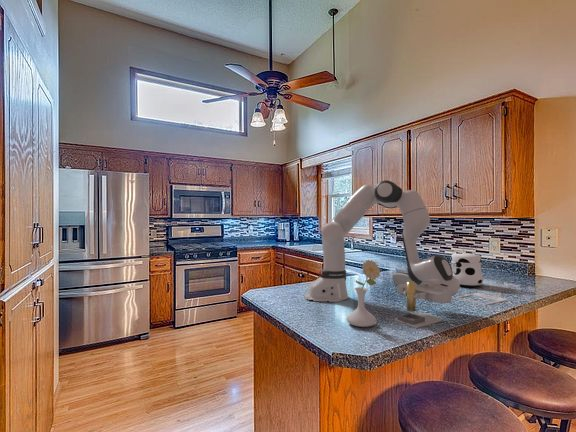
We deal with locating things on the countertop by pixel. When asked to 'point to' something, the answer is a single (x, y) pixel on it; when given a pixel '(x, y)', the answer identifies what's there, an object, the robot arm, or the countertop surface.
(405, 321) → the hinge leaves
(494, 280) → the countertop surface
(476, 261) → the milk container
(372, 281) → the flower in vase
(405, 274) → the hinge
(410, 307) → the hinge pin
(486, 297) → the photo frame
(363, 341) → the countertop surface
